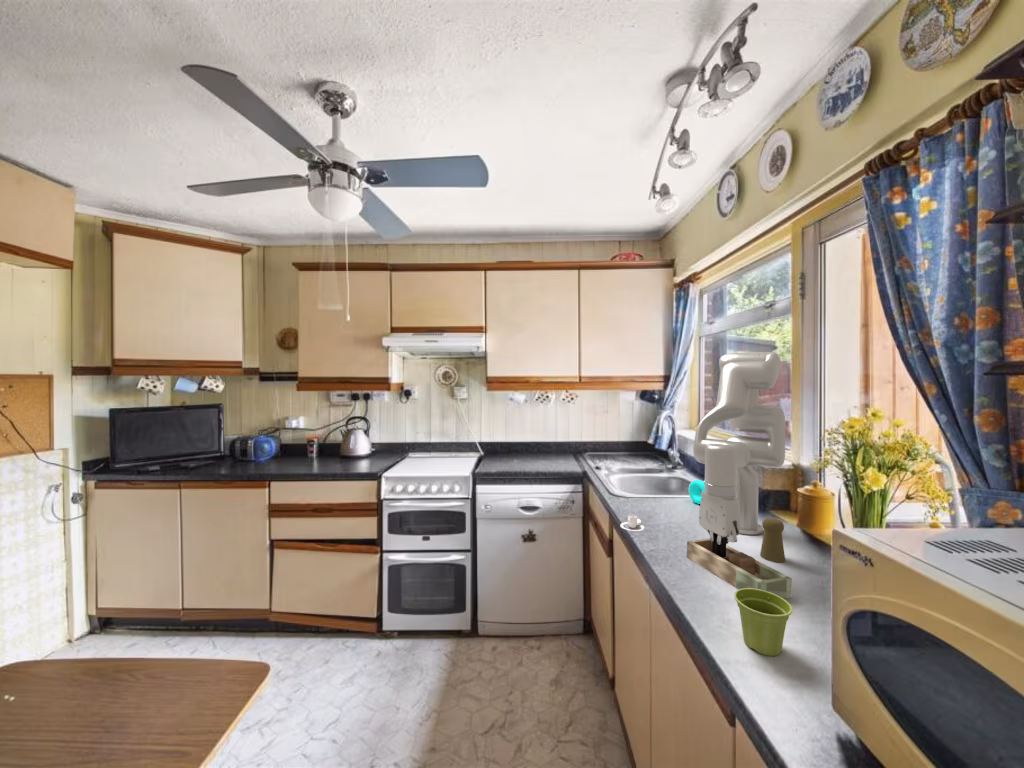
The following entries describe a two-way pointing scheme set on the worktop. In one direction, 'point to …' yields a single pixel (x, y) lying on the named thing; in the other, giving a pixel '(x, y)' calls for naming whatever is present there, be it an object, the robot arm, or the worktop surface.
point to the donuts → (696, 490)
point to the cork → (772, 540)
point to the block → (743, 562)
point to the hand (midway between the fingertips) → (718, 556)
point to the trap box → (739, 570)
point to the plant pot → (763, 619)
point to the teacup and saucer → (633, 523)
